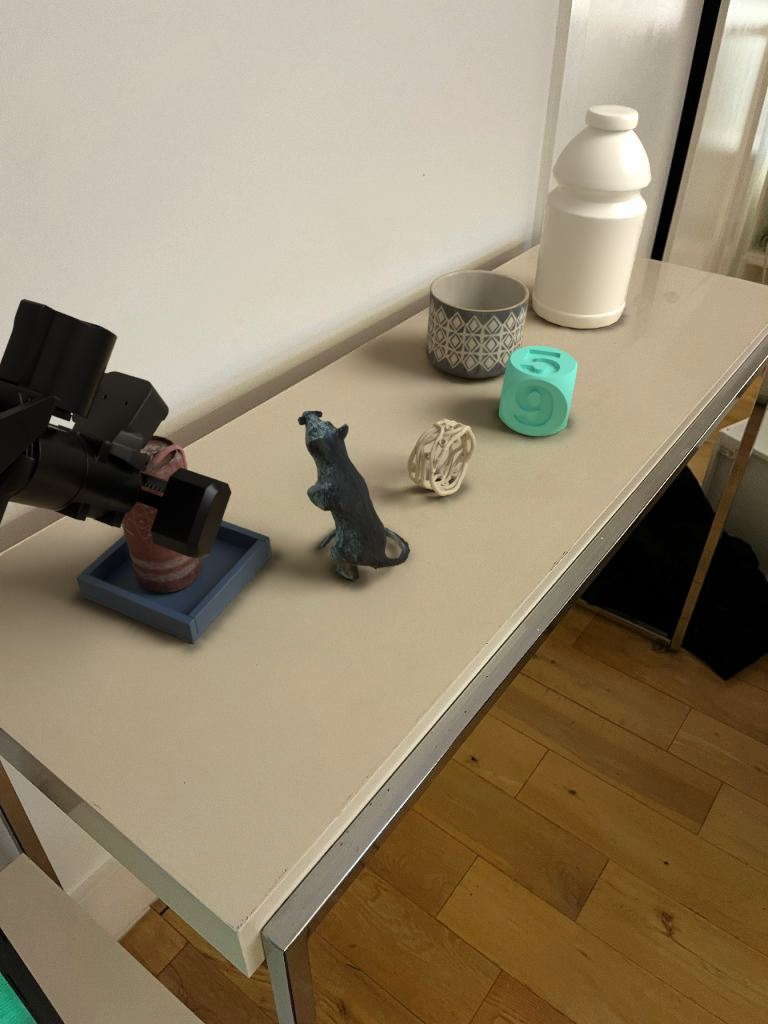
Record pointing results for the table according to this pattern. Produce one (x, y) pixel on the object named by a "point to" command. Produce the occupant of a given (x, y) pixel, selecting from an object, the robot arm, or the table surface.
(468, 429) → the bracelet
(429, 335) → the planter
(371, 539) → the sculpture
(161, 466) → the can
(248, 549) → the blue tray
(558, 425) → the decorative dice
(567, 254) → the bottle
